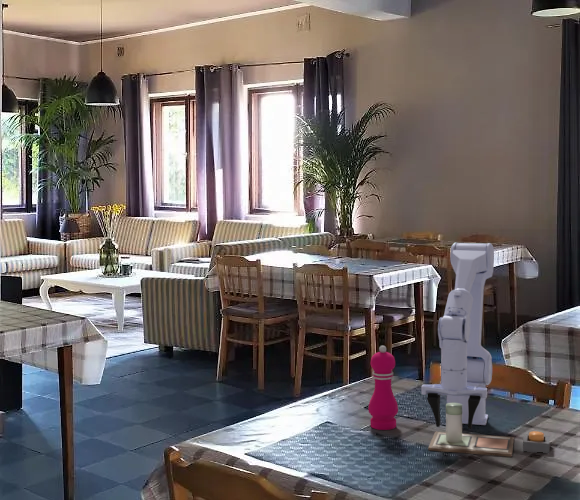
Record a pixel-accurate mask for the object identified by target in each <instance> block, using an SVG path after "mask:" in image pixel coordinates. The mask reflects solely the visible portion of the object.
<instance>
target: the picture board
mask: <svg viewBox="0 0 580 500" xmlns="http://www.w3.org/2000/svg"><path fill="white" fill-rule="evenodd" d="M434 431H435V430H434ZM514 443H515V436H502V435H488V434H486V435H485V434H475V433H463V432H462V441H461V442H458V443H452V442H448V441H446V431H435V432H434V434H433V436H432V439H430V443H429V446H428V448H427V449H428V451H434V452H435V451H436V452H447V453H449V452H450V453H461V454H472V455H483V456H495V457H496V456H497V457H510V458H511V457H512V456H513V451H514V450H513V448H514Z"/></svg>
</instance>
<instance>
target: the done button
mask: <svg viewBox="0 0 580 500" xmlns="http://www.w3.org/2000/svg"><path fill="white" fill-rule="evenodd" d="M528 434H529V441H537V442H544V436H545V433H543V432H542V431H538V430H537V431H535V430H533V431H529V433H528Z"/></svg>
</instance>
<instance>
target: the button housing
mask: <svg viewBox="0 0 580 500" xmlns="http://www.w3.org/2000/svg"><path fill="white" fill-rule="evenodd" d="M550 440H551V439H550V435H544V442H537V441H529V433H527V434H526V433H524V434H523V438H522V452H524V451H527V452H529V453H537V452H543V453H542V454H550Z"/></svg>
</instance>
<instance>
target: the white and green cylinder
mask: <svg viewBox="0 0 580 500" xmlns="http://www.w3.org/2000/svg"><path fill="white" fill-rule="evenodd" d="M445 432H446V441H448V442H452V443H458V442H461V441H462V433H463V424H462V404H460V403H447V402H446V404H445Z"/></svg>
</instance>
